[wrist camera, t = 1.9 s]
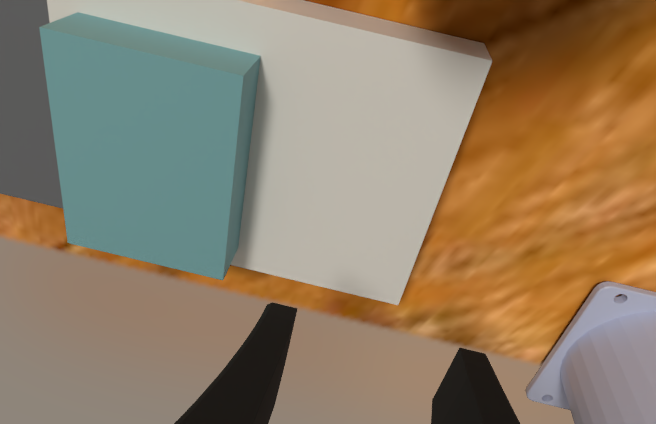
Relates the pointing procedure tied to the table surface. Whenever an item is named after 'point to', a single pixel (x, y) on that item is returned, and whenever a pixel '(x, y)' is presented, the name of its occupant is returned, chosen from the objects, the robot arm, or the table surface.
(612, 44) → the table surface
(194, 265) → the tile
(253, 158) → the plinth
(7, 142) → the mat
